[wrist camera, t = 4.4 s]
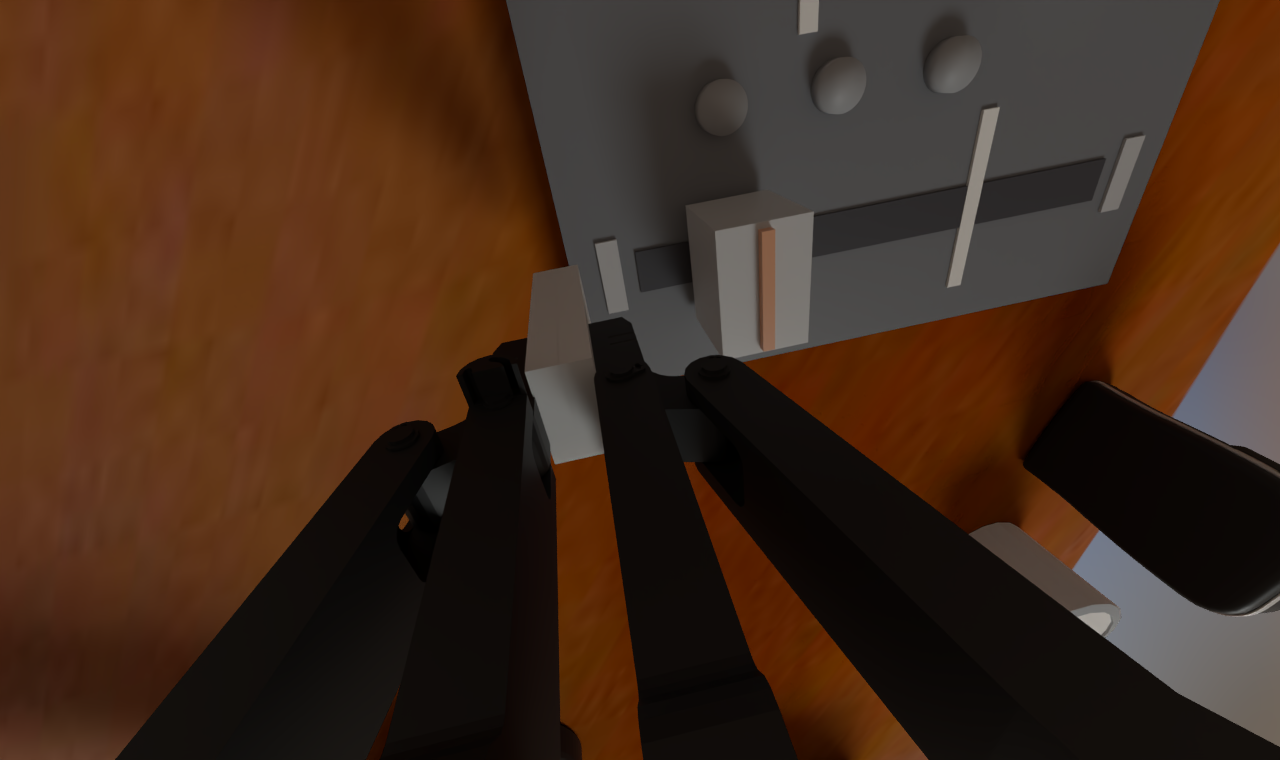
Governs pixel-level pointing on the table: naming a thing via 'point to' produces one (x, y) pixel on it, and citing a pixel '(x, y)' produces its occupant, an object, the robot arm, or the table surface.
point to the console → (853, 145)
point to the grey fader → (751, 271)
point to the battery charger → (1169, 497)
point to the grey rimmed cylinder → (1050, 575)
